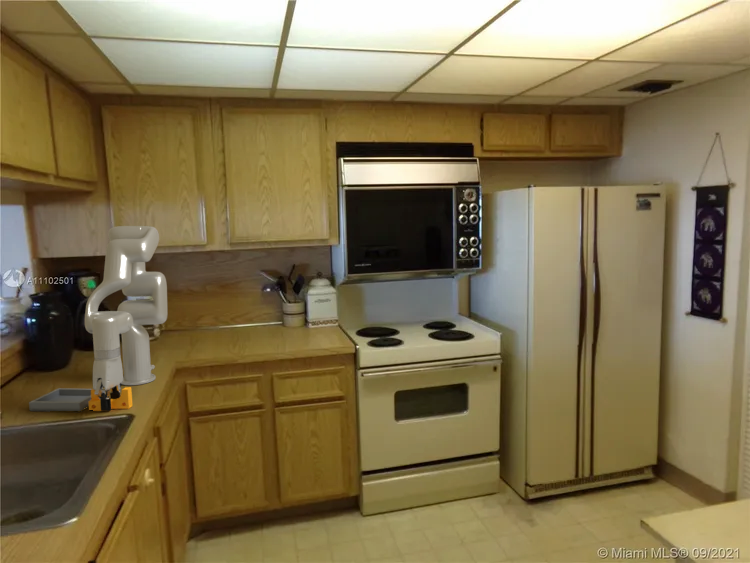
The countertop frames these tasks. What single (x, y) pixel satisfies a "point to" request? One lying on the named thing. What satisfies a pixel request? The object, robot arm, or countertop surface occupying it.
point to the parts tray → (62, 400)
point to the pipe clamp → (112, 400)
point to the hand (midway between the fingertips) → (111, 406)
